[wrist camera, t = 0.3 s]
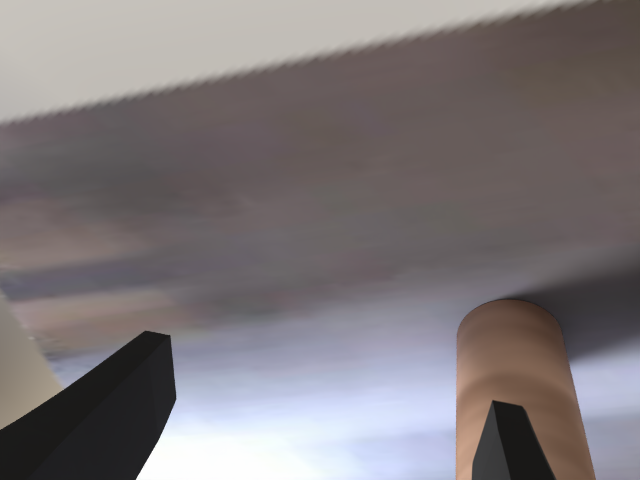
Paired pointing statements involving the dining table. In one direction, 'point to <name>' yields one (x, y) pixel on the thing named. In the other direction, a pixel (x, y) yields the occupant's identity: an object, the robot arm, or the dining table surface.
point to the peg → (518, 384)
